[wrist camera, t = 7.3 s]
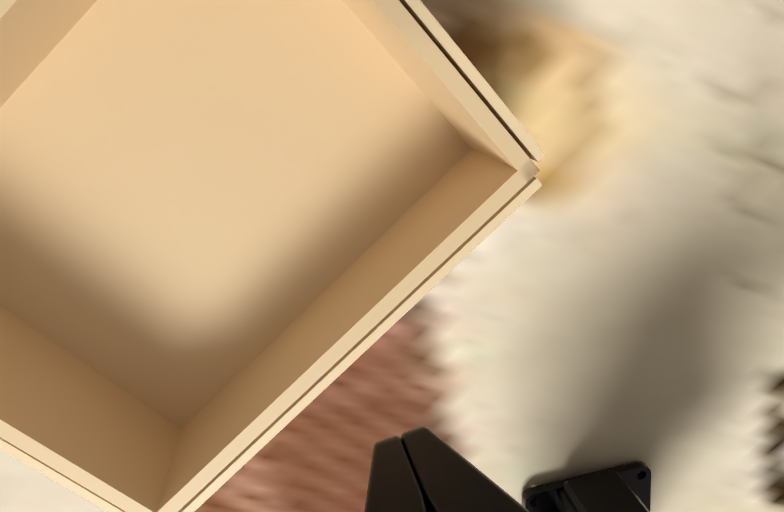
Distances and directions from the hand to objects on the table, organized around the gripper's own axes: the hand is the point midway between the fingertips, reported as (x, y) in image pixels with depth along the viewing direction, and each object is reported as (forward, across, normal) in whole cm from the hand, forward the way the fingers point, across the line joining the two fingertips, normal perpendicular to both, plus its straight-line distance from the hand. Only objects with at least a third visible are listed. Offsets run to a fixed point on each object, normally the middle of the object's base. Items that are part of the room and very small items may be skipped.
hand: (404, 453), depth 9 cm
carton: (+14, +4, -1) cm, 15 cm away
